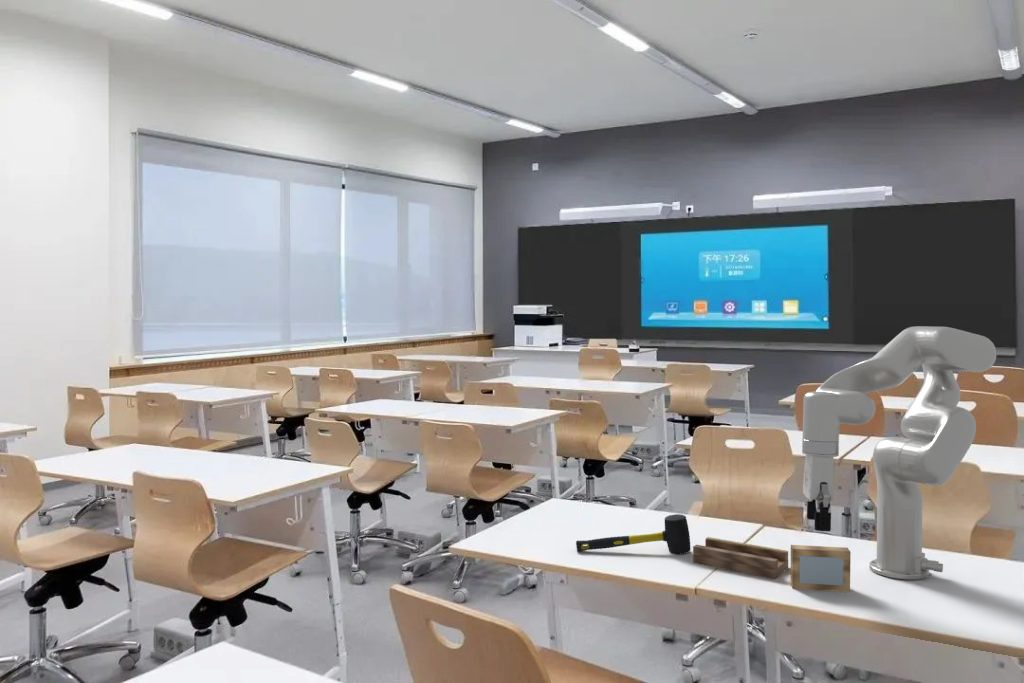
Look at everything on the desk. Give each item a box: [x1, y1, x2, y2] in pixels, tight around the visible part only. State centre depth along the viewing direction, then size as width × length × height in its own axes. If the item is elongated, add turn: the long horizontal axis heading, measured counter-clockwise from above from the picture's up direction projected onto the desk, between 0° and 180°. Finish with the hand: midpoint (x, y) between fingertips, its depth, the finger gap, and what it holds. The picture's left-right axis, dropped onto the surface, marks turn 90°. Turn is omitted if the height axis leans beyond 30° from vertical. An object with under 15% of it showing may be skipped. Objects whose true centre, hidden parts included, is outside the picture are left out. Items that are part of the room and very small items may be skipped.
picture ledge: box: [692, 536, 789, 580], centre depth 190 cm, size 20×10×4 cm, turn 54°
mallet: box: [575, 514, 691, 555], centre depth 202 cm, size 29×6×10 cm, turn 88°
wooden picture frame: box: [789, 544, 852, 593], centre depth 174 cm, size 12×3×9 cm, turn 79°
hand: (818, 524), depth 174 cm, fingers open, 9 cm apart
